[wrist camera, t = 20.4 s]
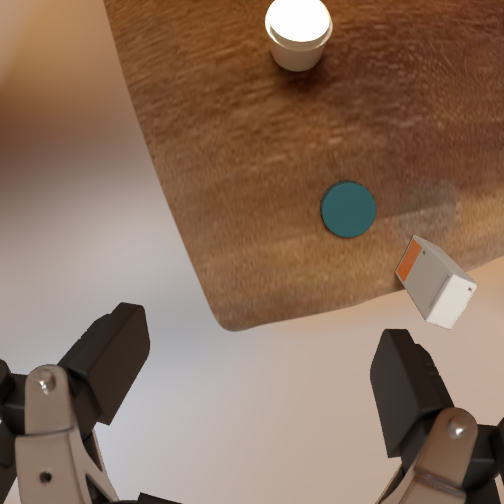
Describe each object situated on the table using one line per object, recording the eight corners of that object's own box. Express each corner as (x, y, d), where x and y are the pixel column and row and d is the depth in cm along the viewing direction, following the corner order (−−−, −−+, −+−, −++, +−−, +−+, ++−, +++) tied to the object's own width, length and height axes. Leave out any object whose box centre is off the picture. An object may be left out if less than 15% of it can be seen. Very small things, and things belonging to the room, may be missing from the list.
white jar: (317, 26, 27) (328, -12, 18) (325, 70, 29) (340, 44, 20) (267, 29, 28) (259, -8, 18) (274, 73, 30) (268, 48, 21)
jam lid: (316, 230, 37) (318, 234, 35) (322, 177, 34) (324, 179, 33) (367, 235, 36) (371, 240, 34) (375, 183, 34) (380, 186, 32)
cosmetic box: (412, 233, 35) (454, 272, 24) (435, 244, 35) (480, 284, 24) (392, 273, 38) (424, 322, 27) (416, 282, 38) (451, 331, 27)
